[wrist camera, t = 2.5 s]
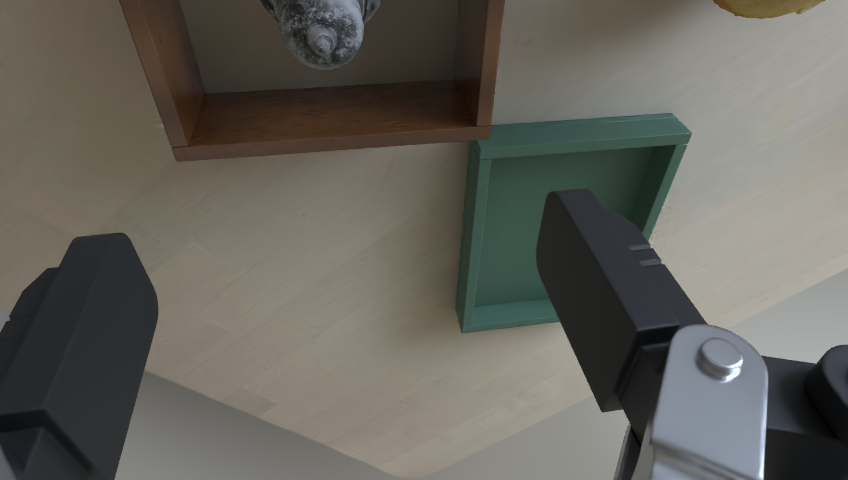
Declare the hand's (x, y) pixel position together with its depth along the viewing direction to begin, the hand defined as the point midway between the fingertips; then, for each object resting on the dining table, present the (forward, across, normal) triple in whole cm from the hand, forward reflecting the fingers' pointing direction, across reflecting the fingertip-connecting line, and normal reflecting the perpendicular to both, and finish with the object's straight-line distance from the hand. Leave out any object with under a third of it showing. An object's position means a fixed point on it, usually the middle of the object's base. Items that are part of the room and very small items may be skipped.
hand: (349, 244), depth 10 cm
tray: (+21, -15, +18) cm, 31 cm away
